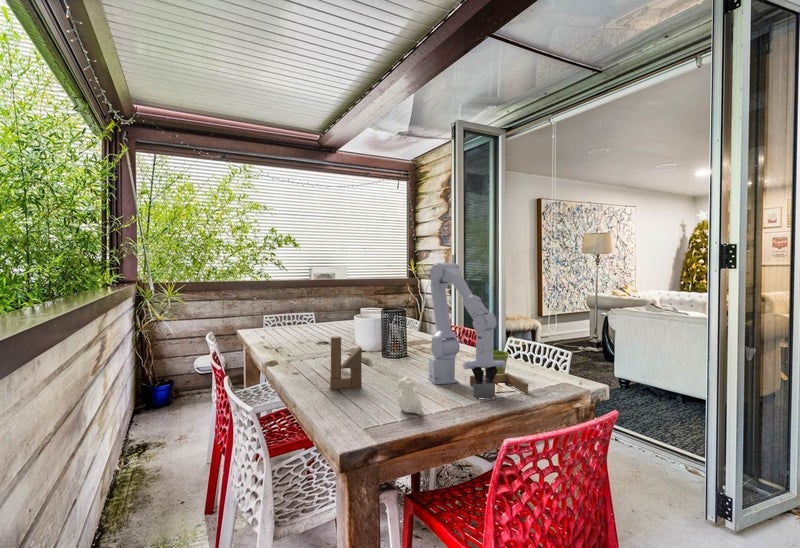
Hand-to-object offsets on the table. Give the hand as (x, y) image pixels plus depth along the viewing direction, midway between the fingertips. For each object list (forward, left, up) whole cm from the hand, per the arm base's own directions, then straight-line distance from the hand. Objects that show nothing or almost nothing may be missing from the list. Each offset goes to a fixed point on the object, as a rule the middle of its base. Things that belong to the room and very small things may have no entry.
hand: (484, 389), depth 138 cm
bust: (-29, -10, -2) cm, 31 cm away
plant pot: (+15, +21, -2) cm, 25 cm away
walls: (+6, +3, -1) cm, 7 cm away
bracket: (-2, -2, -1) cm, 3 cm away
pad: (+7, +4, -1) cm, 8 cm away
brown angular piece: (-45, +17, -2) cm, 48 cm away
